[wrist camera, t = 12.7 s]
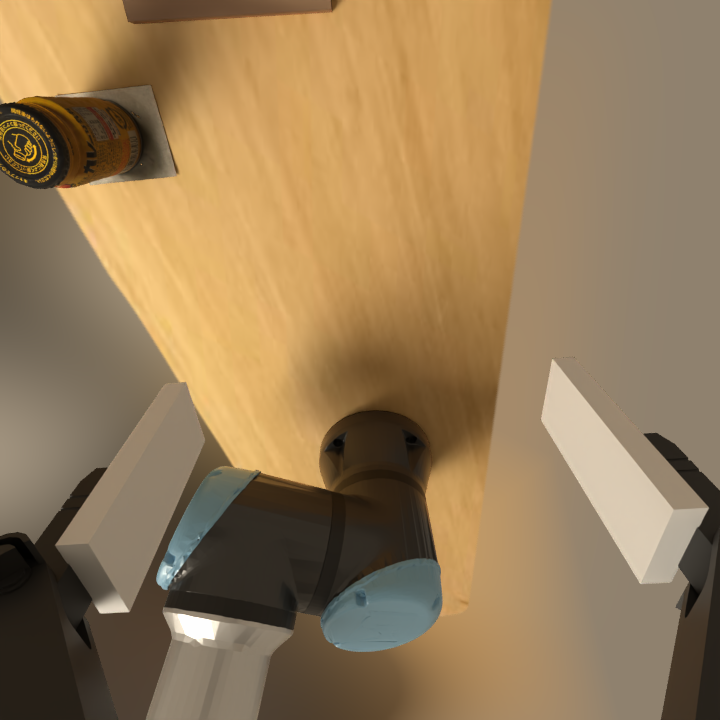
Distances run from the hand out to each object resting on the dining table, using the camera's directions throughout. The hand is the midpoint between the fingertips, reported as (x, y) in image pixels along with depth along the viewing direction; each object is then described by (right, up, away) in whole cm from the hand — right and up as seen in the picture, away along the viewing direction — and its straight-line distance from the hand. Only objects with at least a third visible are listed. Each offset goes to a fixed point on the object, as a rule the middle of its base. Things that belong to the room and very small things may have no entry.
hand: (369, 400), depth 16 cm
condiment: (-22, +22, +23) cm, 39 cm away
